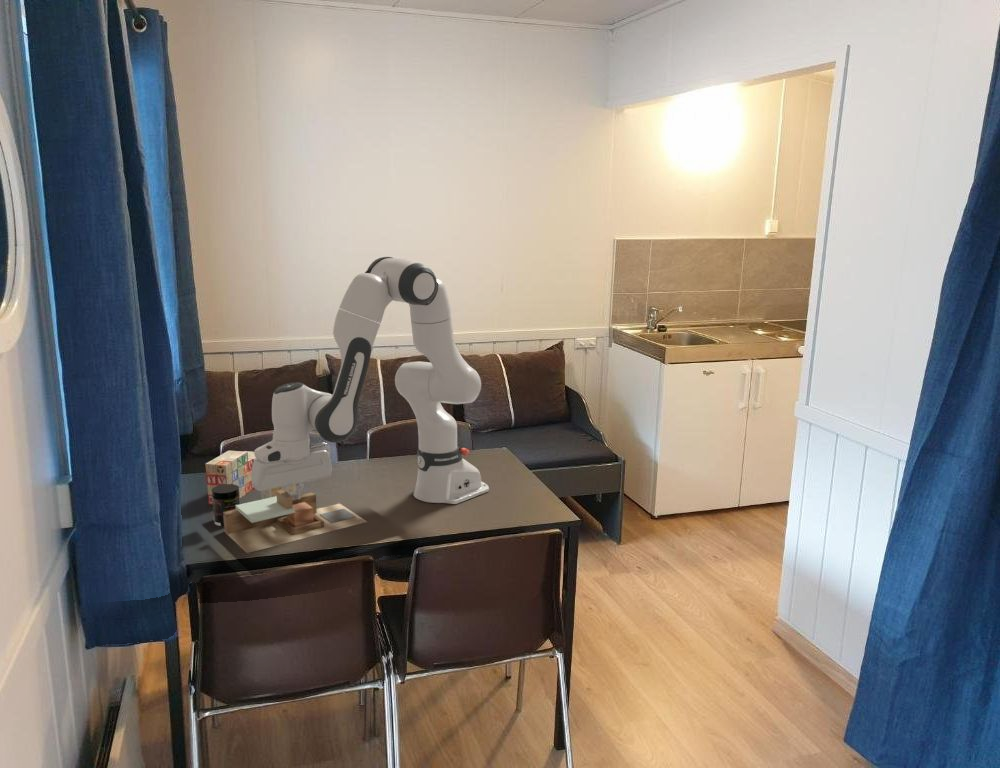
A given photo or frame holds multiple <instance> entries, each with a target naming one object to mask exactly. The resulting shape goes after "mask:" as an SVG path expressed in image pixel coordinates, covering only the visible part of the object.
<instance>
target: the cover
mask: <svg viewBox="0 0 1000 768" xmlns="http://www.w3.org/2000/svg"><path fill="white" fill-rule="evenodd" d="M276 494H277V496H276V497H271V498H266V499H262V498H261V499H258V500H254V501H253V500H252V501H248V502H244V503H240V504H239V505H236V510H237V511H239V512H240V513H241V514H242V515H243V516H244V517H246V518H247V519H248V520H249V521H250V522H251V523H253V522H258V521H262V520H266V519H270V518H275V517H279V516H283V515H287V514H291V513H295V509H294V508H293V507H292V496H290V495H289V494H288V493H286V492H285V491H283V490H279V491H276Z"/></svg>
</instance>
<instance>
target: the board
mask: <svg viewBox="0 0 1000 768" xmlns="http://www.w3.org/2000/svg"><path fill="white" fill-rule="evenodd" d="M300 495H301V499H299V500H294V501H292V505H294V504H299V503H303V502H305V503H307V504H308V505H310V506H311V507H313V518H314V522H313V523H309V524H305V525H301V526H297V527H292V526H290V525H289V524H288V523H287V515H283V516H279V517H275V518H270V519H266V520H262V521H258V522H253V523H251V522H250V521H249V520H248V519H247V518H246V517H244V516H243V515H242V514H241V513H240V512H239V511H237V510H236V509H235V510H231V511H226V512H223V517H224V526H223V528H224V530H223V532H224V533H225V534H226V535H227V536H228V537H229V538H230V539H231V540H232V541H234V542H235V543H236V544H237V545H238V546H239V547H240V548H241V549H242V550H243V551H244V552H245V553H246V554H250V553H253V552H257V551H261V550H264V549H267V548H268V549H269V548H272V547H275V546H279V545H283V544H284V545H285V544H288V543H290V542H295V541H299V540H303V539H307V538H310V537H314V536H318V535H322V534H326V533H329V532H334V531H338V530H341V529H345V528H349V527H353V526H354V527H355V526H357V525H360V524H365V523H368V521H367V520H365V518H363V517H361V516H360V515H358V514H357V513H355V512H354V511H352V510H350V509H349V508H347V507H346V506H344V505H343V504H341V503H336V504H332V505H331V504H330V505H327V506H324V507H318V508H317V494H316V493H314V491H313V492H308V493H304V494H300Z"/></svg>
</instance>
